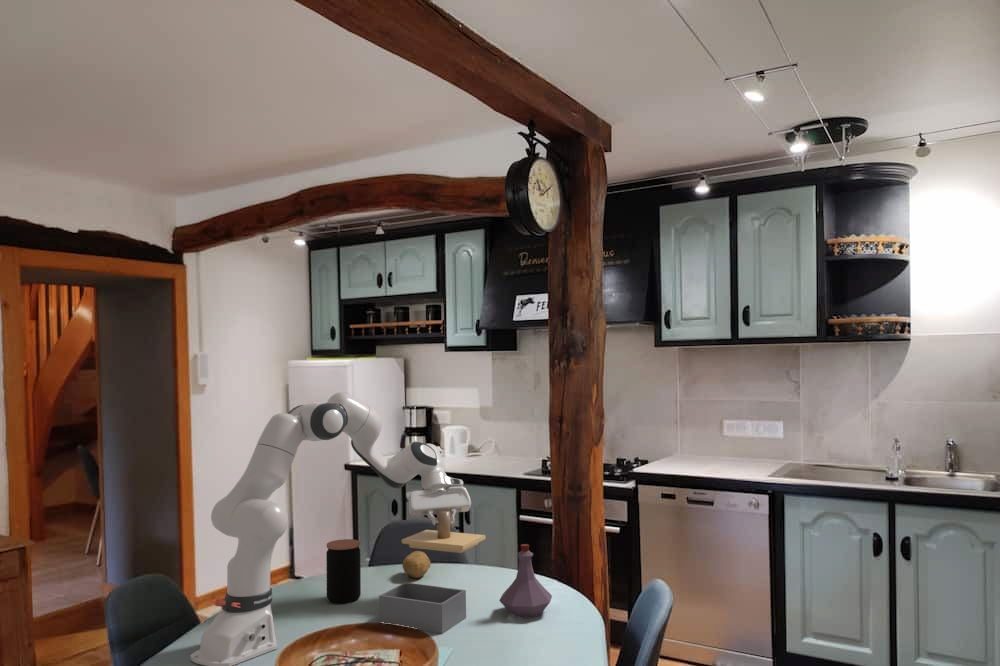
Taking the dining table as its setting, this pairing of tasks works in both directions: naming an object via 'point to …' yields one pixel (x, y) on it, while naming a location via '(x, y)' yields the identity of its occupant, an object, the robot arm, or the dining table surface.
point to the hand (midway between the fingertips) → (444, 523)
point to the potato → (416, 564)
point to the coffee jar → (343, 571)
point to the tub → (423, 607)
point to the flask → (525, 590)
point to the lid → (443, 537)
